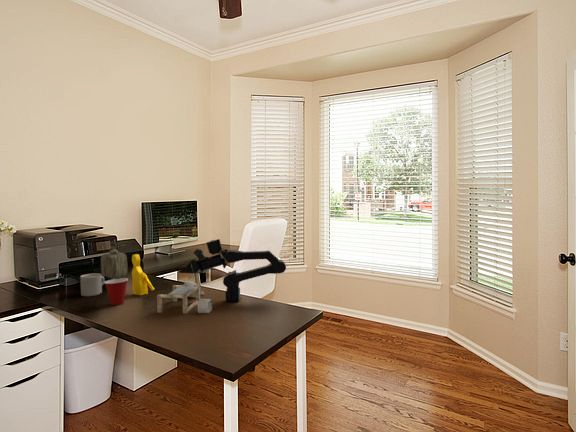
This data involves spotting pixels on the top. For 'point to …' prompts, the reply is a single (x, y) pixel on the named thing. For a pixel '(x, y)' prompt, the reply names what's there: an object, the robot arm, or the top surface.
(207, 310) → the steel cube
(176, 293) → the flap
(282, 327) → the top surface
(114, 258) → the tabletop clock
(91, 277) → the coffee mug
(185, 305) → the birch frame
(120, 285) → the plastic cup
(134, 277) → the figure statuette
